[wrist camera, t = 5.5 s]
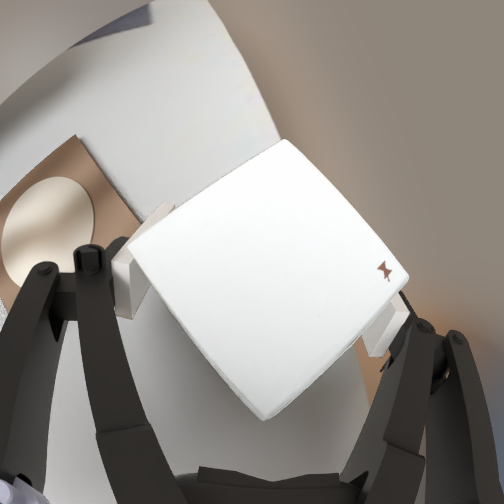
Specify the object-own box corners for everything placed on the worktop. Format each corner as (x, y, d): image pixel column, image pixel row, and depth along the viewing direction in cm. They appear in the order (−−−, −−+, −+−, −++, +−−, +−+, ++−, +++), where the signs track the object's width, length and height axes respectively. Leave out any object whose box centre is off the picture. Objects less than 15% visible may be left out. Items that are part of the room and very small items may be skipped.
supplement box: (251, 237, 23) (289, 130, 11) (314, 312, 22) (419, 278, 10) (173, 296, 21) (118, 240, 9) (237, 377, 20) (268, 430, 8)
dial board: (-19, 231, 20) (-26, 227, 18) (78, 140, 23) (74, 132, 22) (34, 352, 18) (26, 352, 17) (154, 242, 22) (151, 237, 20)
